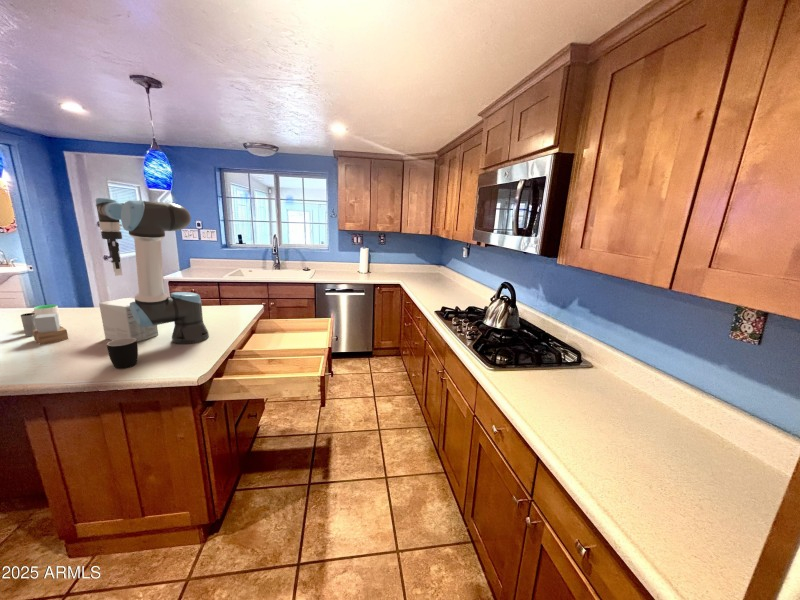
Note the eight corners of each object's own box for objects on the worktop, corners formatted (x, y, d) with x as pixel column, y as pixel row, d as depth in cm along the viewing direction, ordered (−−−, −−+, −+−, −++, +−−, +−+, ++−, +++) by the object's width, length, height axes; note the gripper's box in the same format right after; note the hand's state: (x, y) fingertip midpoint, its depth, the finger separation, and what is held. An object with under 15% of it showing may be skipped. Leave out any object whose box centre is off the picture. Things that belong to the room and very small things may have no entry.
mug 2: (32, 331, 155) (28, 311, 152) (23, 329, 157) (18, 309, 155) (65, 325, 166) (60, 306, 163) (56, 322, 168) (51, 304, 166)
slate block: (57, 330, 145) (54, 316, 143) (38, 333, 141) (34, 318, 140) (60, 327, 149) (56, 313, 148) (41, 329, 146) (37, 314, 144)
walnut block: (68, 339, 148) (66, 329, 147) (40, 345, 141) (38, 334, 139) (62, 335, 153) (60, 325, 151) (34, 340, 145) (32, 330, 144)
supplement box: (159, 335, 158) (154, 300, 154) (131, 344, 146) (125, 306, 141) (134, 330, 162) (128, 296, 158) (104, 339, 150) (97, 302, 146)
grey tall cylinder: (24, 335, 150) (19, 314, 148) (38, 332, 154) (34, 312, 152) (26, 337, 148) (21, 316, 145) (40, 334, 152) (36, 314, 149)
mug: (145, 363, 128) (141, 340, 125) (118, 372, 120) (113, 347, 117) (128, 357, 132) (125, 334, 130) (102, 365, 125) (97, 341, 122)
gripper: (122, 232, 149) (129, 276, 154) (119, 229, 167) (126, 269, 172) (101, 232, 144) (109, 277, 149) (100, 229, 162) (107, 270, 167)
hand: (118, 273), depth 161 cm, fingers open, 13 cm apart
